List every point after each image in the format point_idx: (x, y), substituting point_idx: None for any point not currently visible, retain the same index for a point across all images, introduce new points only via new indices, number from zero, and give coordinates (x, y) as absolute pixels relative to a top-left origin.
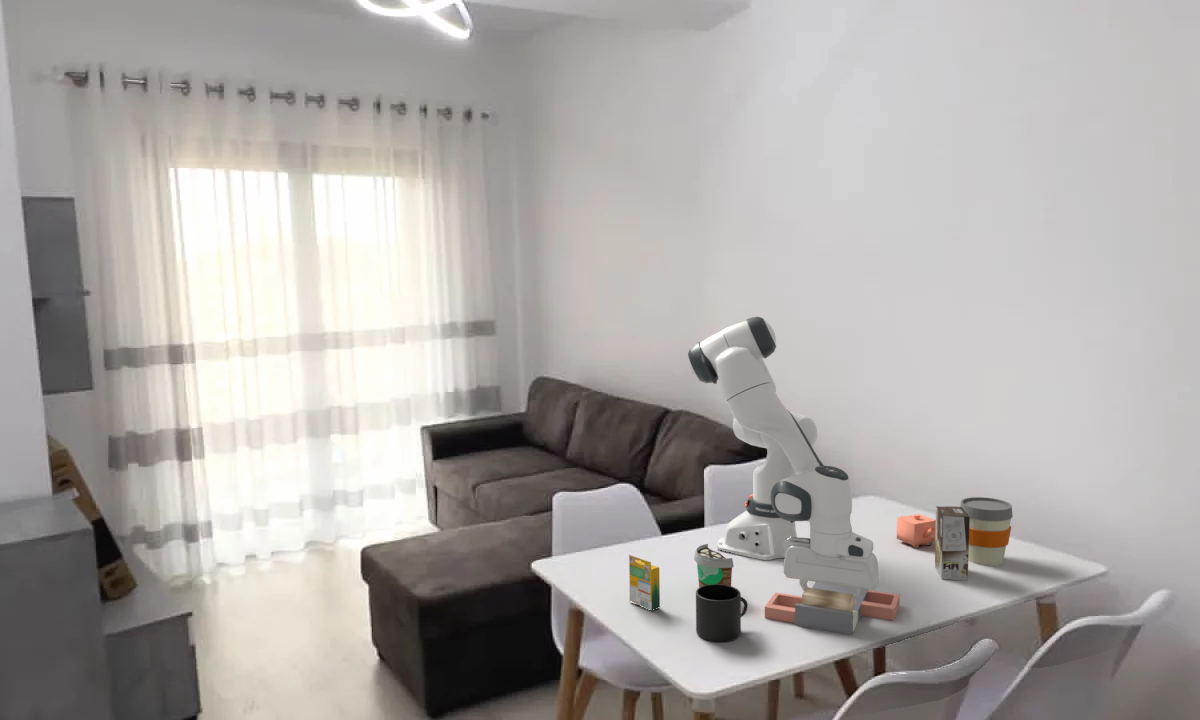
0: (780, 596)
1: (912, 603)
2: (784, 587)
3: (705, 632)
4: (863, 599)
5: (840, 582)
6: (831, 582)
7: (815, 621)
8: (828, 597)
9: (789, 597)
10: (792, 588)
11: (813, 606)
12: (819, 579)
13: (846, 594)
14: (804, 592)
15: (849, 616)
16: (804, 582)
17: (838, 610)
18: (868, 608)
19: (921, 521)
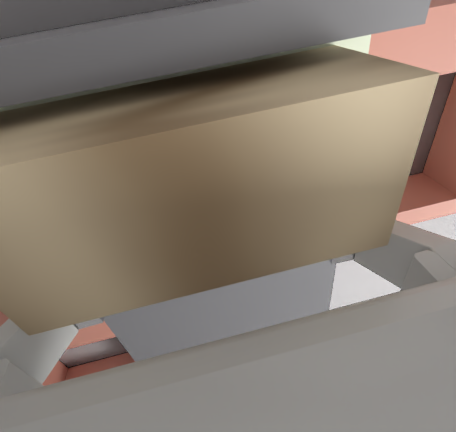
0: (445, 196)
1: None
2: (398, 288)
3: None
4: (124, 345)
5: (92, 408)
6: (198, 362)
7: (213, 2)
8: (154, 168)
9: (407, 206)
10: (375, 295)
11: (267, 42)
12: (337, 340)
13: (66, 308)
14: (409, 143)
15: None
16: (434, 264)
17: (22, 93)
18: None
19: None
